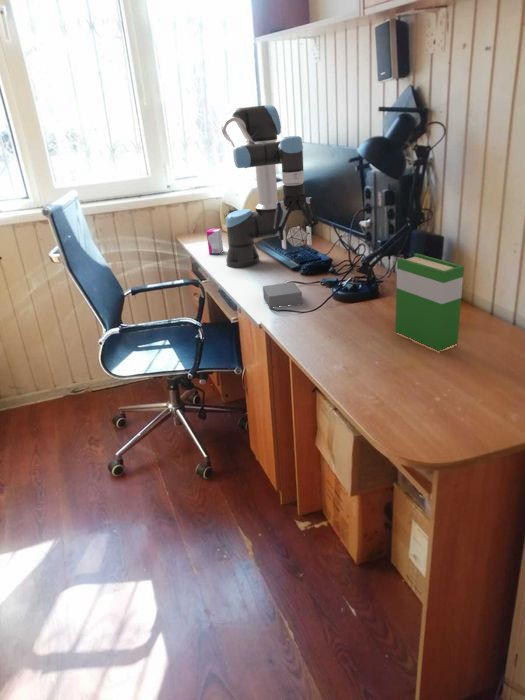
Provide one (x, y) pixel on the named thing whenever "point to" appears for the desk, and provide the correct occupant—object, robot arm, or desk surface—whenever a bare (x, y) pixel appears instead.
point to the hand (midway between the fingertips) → (296, 246)
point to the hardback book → (429, 300)
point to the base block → (282, 294)
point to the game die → (296, 236)
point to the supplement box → (214, 241)
